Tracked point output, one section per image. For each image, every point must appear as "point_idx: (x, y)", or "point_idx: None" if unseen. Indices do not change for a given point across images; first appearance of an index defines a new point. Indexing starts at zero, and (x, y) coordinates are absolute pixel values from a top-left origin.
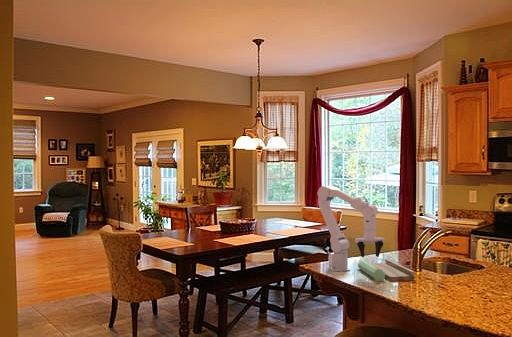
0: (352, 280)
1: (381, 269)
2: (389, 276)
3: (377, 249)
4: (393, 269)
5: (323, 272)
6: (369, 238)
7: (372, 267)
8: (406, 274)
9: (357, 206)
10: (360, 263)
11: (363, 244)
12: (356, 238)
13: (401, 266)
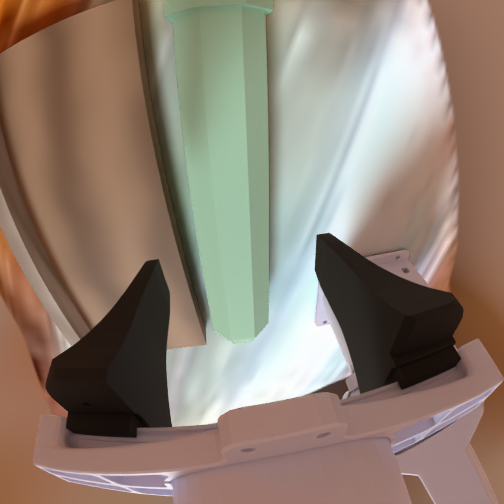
0: (392, 52)
1: (136, 223)
2: (131, 7)
3: (148, 328)
4: (60, 225)
5: (444, 236)
6: (353, 455)
7: (240, 123)
8: (3, 93)
9: None
10: (263, 309)
11: (431, 308)
12: (466, 411)
13: (5, 215)
